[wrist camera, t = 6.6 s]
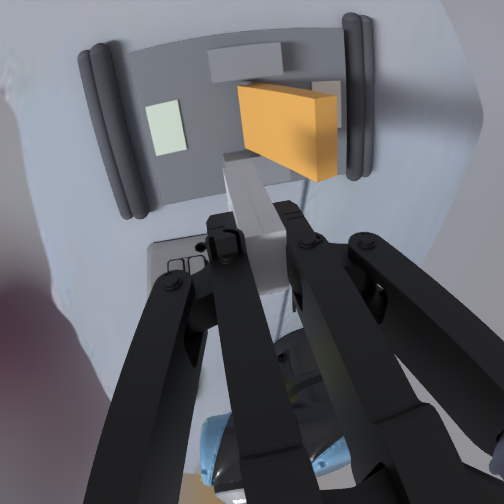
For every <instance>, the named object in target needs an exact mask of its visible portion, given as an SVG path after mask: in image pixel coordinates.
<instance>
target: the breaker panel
mask: <svg viewBox="0 0 504 504" xmlns="http://www.w3.org/2000/svg"><path fill="white" fill-rule="evenodd" d="M127 56H128V61H129V66H130V71H131V76H132V81H133V86H134V91H135V96H136V101H137V105H138V110H139V114H140V119H141V123H142V127H143V132H144V136H145V140H146V144H147V148H148V152H149V156H150V160H151V164H152V168H153V172H154V176H155V180H156V184H157V187H158V191H159V195H160V198H161V202H162V206H163V205H167V204H172V203H177V202H182V201H186V200H191V199H196V198H201V197H206V196H212V195H217V194H222V193H226V186H225V180H224V174H223V168H226V167H232V166H237V165H243V164H249V163H252V165H253V167H254V169H255V170H256V172H257V174H258V176H259V178H260V180H261V182H262V184H263V186H267V185H273V184H279V183H286V182H292V181H298V180H305V179H309V178H307V177H305V176H303V175H301V174H299V173H297V172H295V171H293V170H291V169H289V168H287V167H285V166H283V165H281V164H279V163H276V162H274V161H272V160H270V159H268V158H266V157H264V156H262V155H260V154H257V153H255V152H253V151H251V150H249V149H246V148H245V144H244V136H243V128H242V120H241V112H240V104H239V97H238V89H237V86H240V81H244V80H254V83H256V82H257V83H266V84H273V85H280V86H287V87H294V88H300V89H306V90H311V91H317V92H322V93H327V94H332V95H337V138H338V151H337V175H340V174H346V153H347V101H346V67H345V47H344V32H343V29H337V28H291V29H270V30H257V31H246V32H236V33H228V34H220V35H213V36H206V37H200V38H194V39H189V40H183V41H178V42H173V43H168V44H164V45H159V46H155V47H151V48H147V49H143V50H139V51H135V52H131V53H127Z"/></svg>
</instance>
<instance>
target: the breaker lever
mask: <svg viewBox="0 0 504 504" xmlns="http://www.w3.org/2000/svg"><path fill="white" fill-rule="evenodd" d="M237 89H238V97H239V104H240V112H241V120H242V128H243V136H244V144H245V148H246V149H249V150H251V151H253V152H255V153H257V154H260V155H262V156H264V157H266V158H268V159H270V160H272V161H274V162H276V163H279V164H281V165H283V166H285V167H287V168H289V169H291V170H293V171H295V172H297V173H299V174H301V175H303V176H305V177H307V178H309V179H311V180H313V181H315V182H320V181H323V180H325V179H328V178H331V177H333V176H336V175H337V151H338V138H337V95H332V94H327V93H322V92H317V91H311V90H306V89H300V88H294V87H287V86H280V85H273V84H266V83H257V82H256V83H254V80H244V81H240V86H237Z"/></svg>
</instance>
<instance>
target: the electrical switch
mask: <svg viewBox="0 0 504 504" xmlns="http://www.w3.org/2000/svg"><path fill="white" fill-rule="evenodd" d="M207 236H208V234H206V235H200V236H194V237H188V238H182V239H176V240H171V241H165V242H159V243H153V244H150V245H149V247H148V248H147V293H148V298H149V295H150V292H151V290H152V287H153V285H154V283H155V281H156V280H157V278H158V277H159V276H161V275H162V274H163V273H166V272H168V271H171V270H177V269H178V270H184V271H186V272H188V273H189V274H190V275H192V274H194V273H196V272H198V271H200V270H202V269H203V268H204V267H205V266H206V265H207V264H208V263H209V257H208V253H207V249H206V245H205V239H206V237H207Z"/></svg>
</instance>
